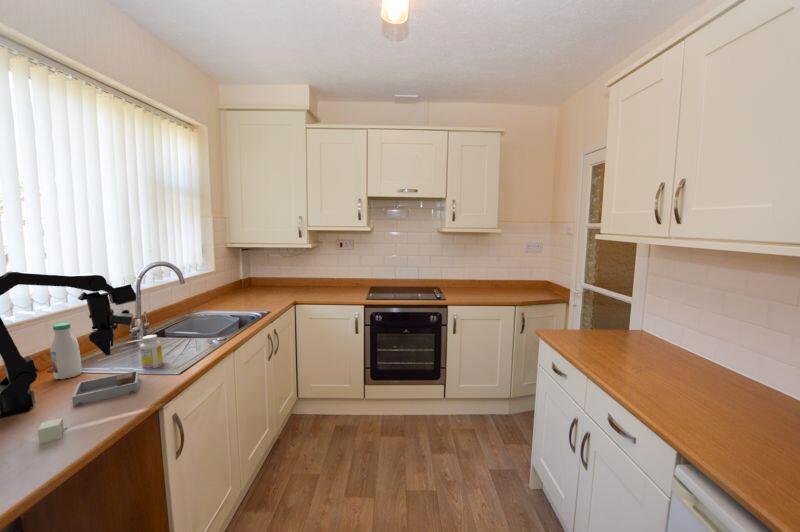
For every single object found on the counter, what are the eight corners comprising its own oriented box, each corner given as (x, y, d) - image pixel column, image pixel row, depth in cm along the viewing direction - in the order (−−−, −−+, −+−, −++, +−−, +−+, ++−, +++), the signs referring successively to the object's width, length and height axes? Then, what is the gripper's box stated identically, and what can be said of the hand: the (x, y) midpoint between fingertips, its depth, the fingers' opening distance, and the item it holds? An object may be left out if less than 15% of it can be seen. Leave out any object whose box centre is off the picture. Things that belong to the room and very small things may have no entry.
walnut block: (118, 391, 116) (116, 379, 115) (118, 386, 119) (117, 375, 118) (132, 387, 118) (131, 376, 117) (133, 383, 121) (132, 372, 121)
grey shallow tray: (73, 409, 106) (71, 397, 105) (80, 391, 117) (79, 381, 116) (138, 394, 115) (137, 383, 115) (139, 379, 126) (138, 369, 125)
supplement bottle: (160, 362, 141) (157, 332, 140) (165, 367, 137) (162, 335, 135) (140, 368, 136) (136, 336, 134) (145, 372, 132) (142, 340, 130)
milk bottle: (86, 369, 135) (80, 320, 132) (76, 378, 128) (69, 326, 125) (61, 373, 132) (54, 322, 129) (49, 381, 125) (41, 328, 122)
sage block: (39, 444, 90) (37, 430, 89) (43, 436, 93) (41, 422, 92) (61, 438, 92) (59, 424, 91) (64, 431, 95) (62, 417, 95)
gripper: (127, 310, 117) (136, 352, 120) (130, 298, 132) (138, 336, 135) (83, 318, 111) (95, 362, 114) (92, 305, 126) (102, 344, 129)
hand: (109, 350), depth 123 cm, fingers open, 9 cm apart
